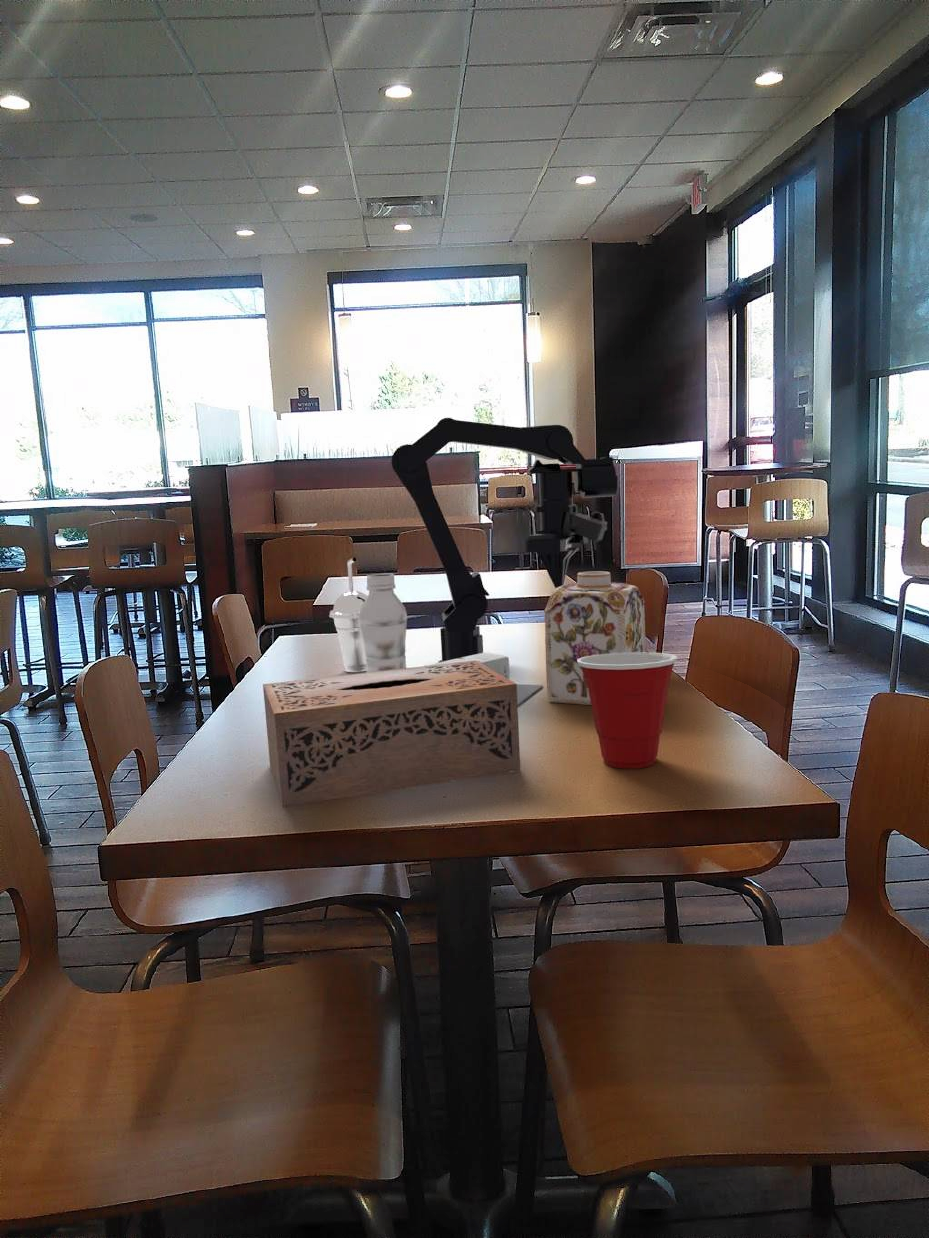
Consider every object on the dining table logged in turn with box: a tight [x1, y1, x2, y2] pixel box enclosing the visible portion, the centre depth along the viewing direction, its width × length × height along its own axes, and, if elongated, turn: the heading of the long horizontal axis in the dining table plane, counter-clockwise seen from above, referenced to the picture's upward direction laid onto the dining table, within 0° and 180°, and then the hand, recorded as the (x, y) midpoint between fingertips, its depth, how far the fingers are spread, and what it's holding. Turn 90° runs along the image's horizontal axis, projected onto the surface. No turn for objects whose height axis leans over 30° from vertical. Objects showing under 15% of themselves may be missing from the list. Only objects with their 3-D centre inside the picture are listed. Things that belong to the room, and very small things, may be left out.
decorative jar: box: [543, 570, 646, 706], centre depth 127 cm, size 12×12×18 cm
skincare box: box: [425, 652, 510, 680], centre depth 136 cm, size 6×4×12 cm
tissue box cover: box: [262, 661, 521, 808], centre depth 100 cm, size 26×14×10 cm, turn 107°
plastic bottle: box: [359, 573, 408, 673], centre depth 118 cm, size 6×7×20 cm
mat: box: [516, 683, 544, 707], centre depth 131 cm, size 12×14×1 cm
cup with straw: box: [328, 557, 368, 673], centre depth 153 cm, size 8×9×20 cm
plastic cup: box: [577, 651, 678, 770], centre depth 98 cm, size 11×11×12 cm
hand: (559, 588), depth 156 cm, fingers closed
